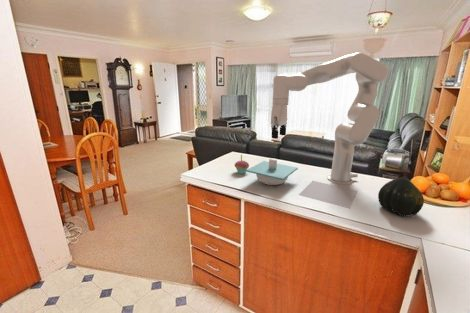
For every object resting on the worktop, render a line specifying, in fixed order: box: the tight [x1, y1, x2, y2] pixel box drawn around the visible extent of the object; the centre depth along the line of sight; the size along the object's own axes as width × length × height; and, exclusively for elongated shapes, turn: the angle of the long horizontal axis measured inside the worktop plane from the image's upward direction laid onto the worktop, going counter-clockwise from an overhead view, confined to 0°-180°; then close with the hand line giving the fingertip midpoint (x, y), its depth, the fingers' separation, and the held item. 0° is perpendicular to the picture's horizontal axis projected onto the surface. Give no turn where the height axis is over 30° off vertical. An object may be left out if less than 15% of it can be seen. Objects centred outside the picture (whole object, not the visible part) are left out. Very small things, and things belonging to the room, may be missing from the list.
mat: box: [298, 180, 358, 209], centre depth 112 cm, size 22×22×1 cm
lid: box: [246, 158, 299, 180], centre depth 121 cm, size 20×20×6 cm
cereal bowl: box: [255, 174, 289, 186], centre depth 123 cm, size 17×17×7 cm
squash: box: [377, 176, 425, 217], centre depth 95 cm, size 14×15×15 cm
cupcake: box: [234, 153, 250, 175], centre depth 137 cm, size 9×8×12 cm
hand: (278, 136), depth 118 cm, fingers open, 9 cm apart
